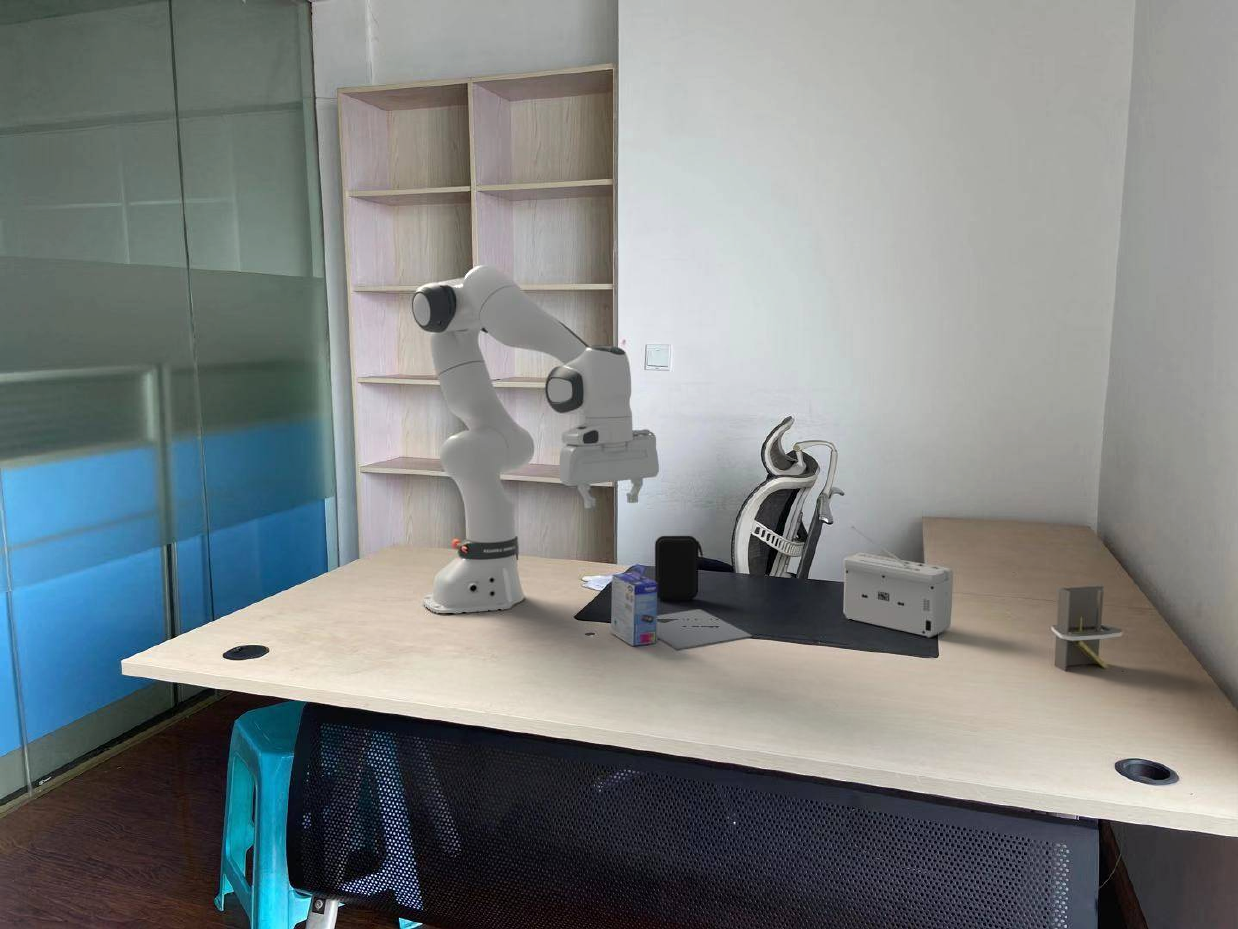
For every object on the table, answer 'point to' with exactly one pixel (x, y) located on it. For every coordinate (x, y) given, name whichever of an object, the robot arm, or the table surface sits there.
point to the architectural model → (1080, 626)
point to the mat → (695, 630)
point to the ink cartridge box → (634, 608)
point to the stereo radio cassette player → (897, 593)
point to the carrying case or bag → (677, 567)
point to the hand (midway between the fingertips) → (611, 505)
